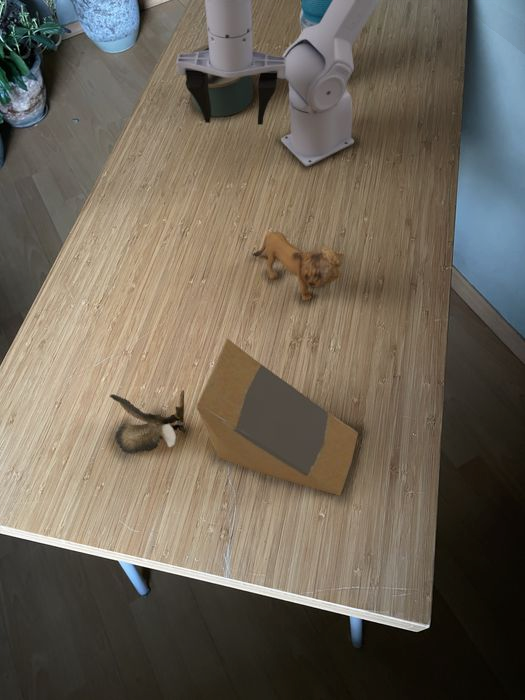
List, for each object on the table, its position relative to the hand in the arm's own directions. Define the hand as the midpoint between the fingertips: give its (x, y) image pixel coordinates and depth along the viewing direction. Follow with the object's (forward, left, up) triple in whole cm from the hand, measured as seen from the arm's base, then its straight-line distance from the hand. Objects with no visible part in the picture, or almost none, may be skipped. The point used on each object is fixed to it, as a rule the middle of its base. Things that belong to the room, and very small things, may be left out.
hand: (234, 119), depth 86 cm
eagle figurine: (+32, +32, -11) cm, 47 cm away
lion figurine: (+4, +23, -11) cm, 26 cm away
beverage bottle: (-25, -13, -11) cm, 30 cm away
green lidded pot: (-7, -19, -11) cm, 23 cm away
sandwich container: (+19, +43, -11) cm, 48 cm away
